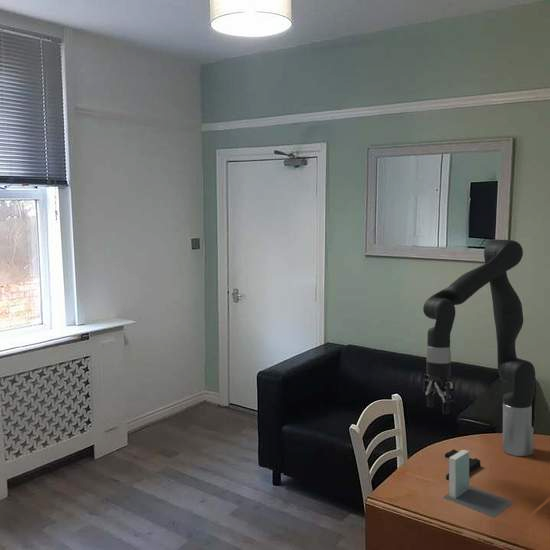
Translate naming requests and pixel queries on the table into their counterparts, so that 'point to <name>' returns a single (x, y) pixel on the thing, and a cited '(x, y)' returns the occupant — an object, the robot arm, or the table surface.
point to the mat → (481, 501)
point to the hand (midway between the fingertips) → (438, 410)
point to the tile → (458, 473)
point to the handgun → (472, 462)
